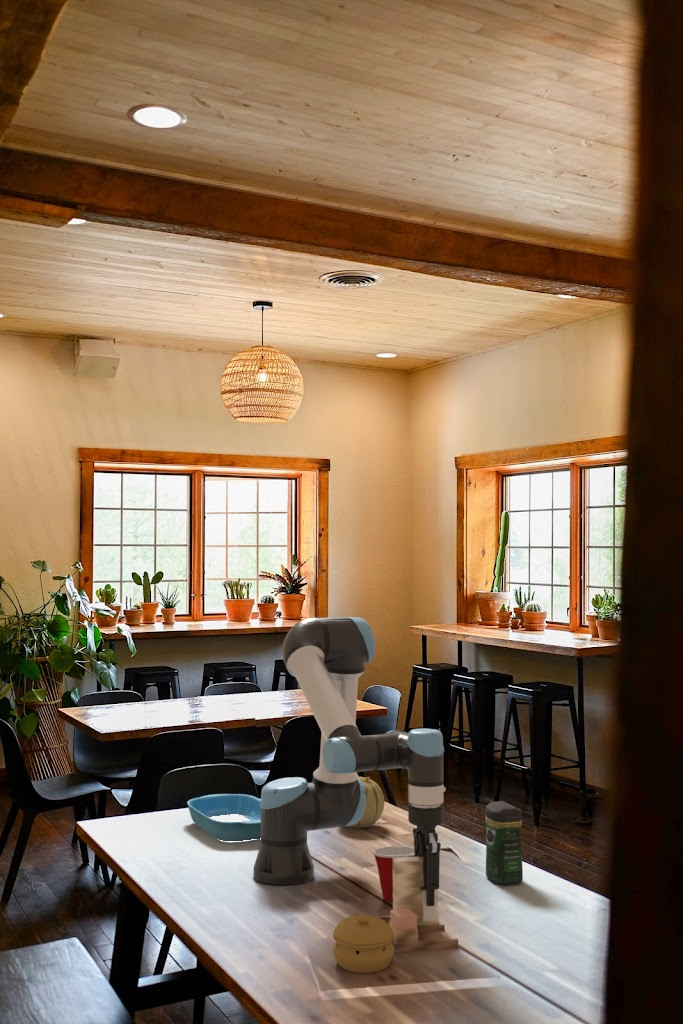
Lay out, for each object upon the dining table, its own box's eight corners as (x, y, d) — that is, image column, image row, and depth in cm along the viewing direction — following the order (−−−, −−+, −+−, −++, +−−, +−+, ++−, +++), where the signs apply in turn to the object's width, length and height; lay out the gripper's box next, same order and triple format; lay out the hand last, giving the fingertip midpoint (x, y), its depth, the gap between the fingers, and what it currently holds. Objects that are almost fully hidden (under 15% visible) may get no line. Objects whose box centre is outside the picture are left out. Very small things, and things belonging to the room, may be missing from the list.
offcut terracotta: (398, 930, 194) (398, 917, 194) (390, 922, 198) (390, 910, 198) (417, 928, 195) (416, 915, 195) (408, 920, 199) (408, 908, 199)
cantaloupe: (338, 820, 298) (338, 770, 299) (386, 821, 296) (386, 771, 297) (331, 832, 283) (331, 780, 284) (381, 834, 281) (381, 781, 282)
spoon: (447, 845, 271) (447, 839, 271) (480, 866, 252) (480, 860, 252) (433, 847, 270) (433, 840, 270) (466, 868, 250) (466, 861, 250)
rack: (394, 958, 190) (394, 944, 190) (377, 929, 206) (377, 916, 206) (458, 953, 192) (458, 939, 193) (436, 925, 208) (436, 912, 208)
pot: (403, 978, 181) (402, 923, 182) (342, 985, 178) (342, 929, 178) (382, 954, 192) (382, 902, 193) (325, 961, 189) (325, 908, 189)
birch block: (396, 931, 201) (395, 862, 202) (392, 926, 204) (392, 858, 205) (438, 928, 203) (437, 859, 204) (434, 923, 206) (433, 855, 207)
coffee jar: (527, 884, 236) (526, 806, 237) (498, 887, 233) (497, 808, 235) (510, 872, 245) (509, 797, 246) (481, 875, 243) (480, 799, 244)
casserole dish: (295, 840, 276) (295, 815, 276) (221, 851, 265) (221, 824, 266) (245, 813, 308) (245, 790, 309) (177, 821, 298) (177, 797, 298)
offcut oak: (396, 947, 193) (396, 931, 193) (389, 936, 199) (389, 921, 199) (418, 945, 194) (418, 930, 194) (410, 934, 199) (410, 919, 200)
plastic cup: (407, 892, 230) (406, 840, 231) (428, 906, 220) (427, 852, 221) (365, 898, 226) (364, 845, 227) (384, 912, 216) (383, 857, 217)
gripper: (454, 812, 199) (455, 929, 197) (432, 794, 214) (433, 903, 213) (418, 813, 197) (419, 932, 196) (399, 796, 213) (400, 905, 212)
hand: (426, 917), depth 204 cm, fingers closed on birch block, 3 cm apart
